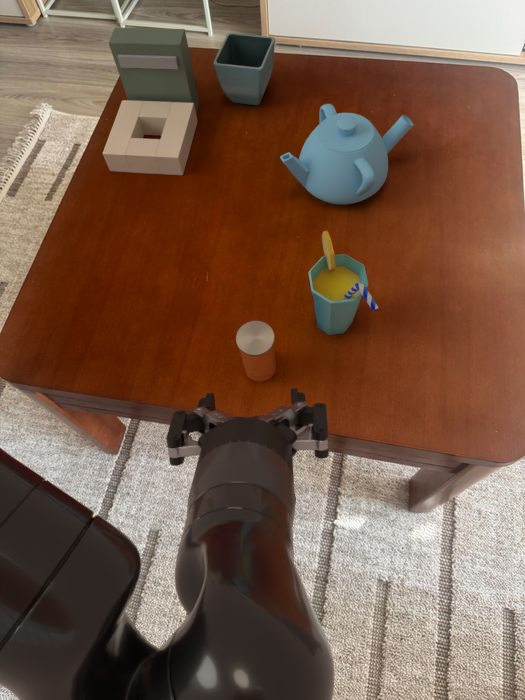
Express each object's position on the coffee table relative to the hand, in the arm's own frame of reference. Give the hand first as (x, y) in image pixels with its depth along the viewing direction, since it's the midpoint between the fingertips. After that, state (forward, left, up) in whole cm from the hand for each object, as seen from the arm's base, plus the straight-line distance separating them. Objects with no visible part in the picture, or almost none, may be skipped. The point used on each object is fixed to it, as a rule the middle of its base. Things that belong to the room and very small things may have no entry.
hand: (252, 399), depth 54 cm
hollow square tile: (-27, +52, -16) cm, 60 cm away
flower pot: (-12, +66, -16) cm, 69 cm away
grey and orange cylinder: (-2, +11, -16) cm, 20 cm away
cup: (+8, +19, -16) cm, 26 cm away
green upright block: (-27, +61, -16) cm, 69 cm away
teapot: (+7, +47, -16) cm, 50 cm away
